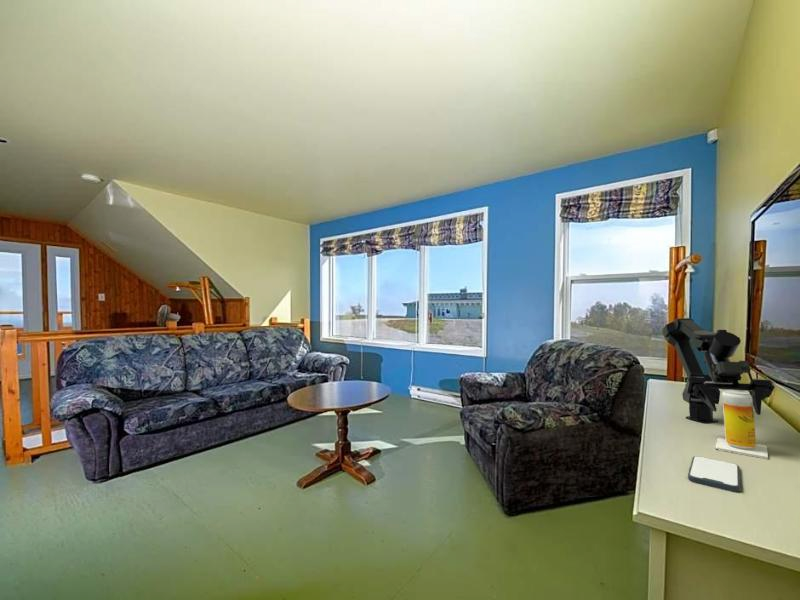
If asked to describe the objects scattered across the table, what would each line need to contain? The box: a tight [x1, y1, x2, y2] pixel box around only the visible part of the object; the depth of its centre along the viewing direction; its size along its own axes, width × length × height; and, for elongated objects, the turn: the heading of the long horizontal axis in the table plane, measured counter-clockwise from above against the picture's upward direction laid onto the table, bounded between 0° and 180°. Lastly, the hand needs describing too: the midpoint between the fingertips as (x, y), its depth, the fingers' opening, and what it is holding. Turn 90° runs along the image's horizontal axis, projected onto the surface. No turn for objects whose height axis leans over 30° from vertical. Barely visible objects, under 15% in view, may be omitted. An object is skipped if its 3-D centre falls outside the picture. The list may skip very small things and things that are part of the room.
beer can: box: [721, 390, 757, 450], centre depth 96 cm, size 6×6×15 cm
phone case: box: [687, 455, 742, 493], centre depth 82 cm, size 9×2×16 cm
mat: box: [714, 437, 769, 460], centre depth 95 cm, size 10×10×1 cm
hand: (736, 412), depth 97 cm, fingers open, 9 cm apart
